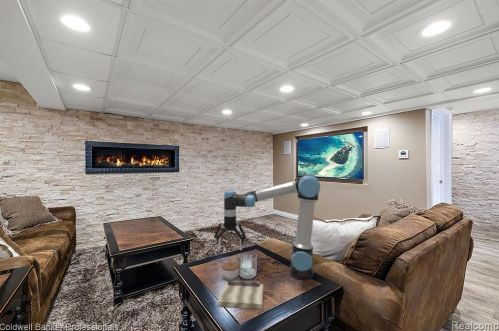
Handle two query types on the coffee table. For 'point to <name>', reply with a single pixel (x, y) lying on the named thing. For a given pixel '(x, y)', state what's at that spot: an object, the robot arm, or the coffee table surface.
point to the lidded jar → (230, 270)
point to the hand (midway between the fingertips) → (230, 249)
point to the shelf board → (242, 294)
